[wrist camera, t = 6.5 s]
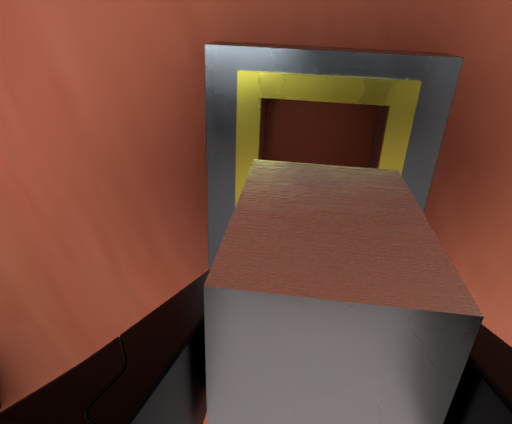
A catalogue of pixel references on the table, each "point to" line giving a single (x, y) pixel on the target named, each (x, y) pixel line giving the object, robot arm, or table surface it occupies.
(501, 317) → the table surface
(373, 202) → the grey metal block
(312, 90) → the grey board with holes
